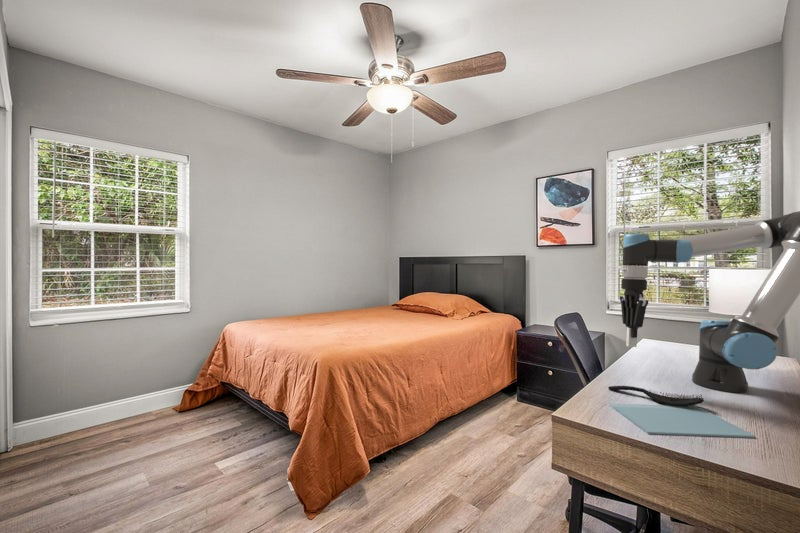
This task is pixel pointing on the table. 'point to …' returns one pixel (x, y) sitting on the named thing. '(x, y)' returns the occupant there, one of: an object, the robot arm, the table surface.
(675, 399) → the hairbrush
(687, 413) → the plate
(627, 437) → the table surface
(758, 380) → the table surface
